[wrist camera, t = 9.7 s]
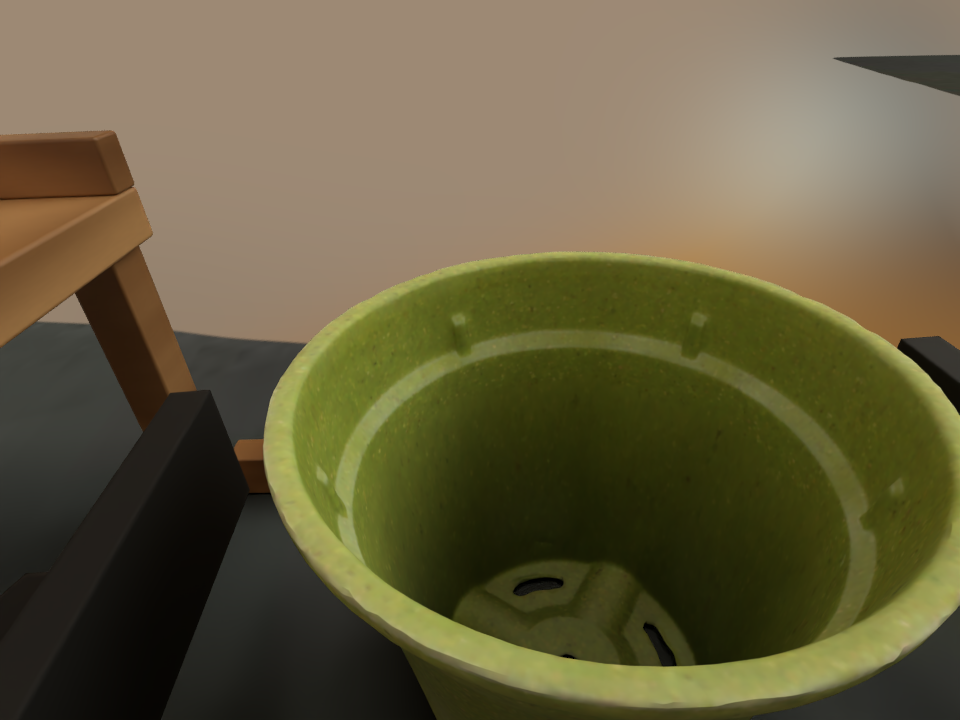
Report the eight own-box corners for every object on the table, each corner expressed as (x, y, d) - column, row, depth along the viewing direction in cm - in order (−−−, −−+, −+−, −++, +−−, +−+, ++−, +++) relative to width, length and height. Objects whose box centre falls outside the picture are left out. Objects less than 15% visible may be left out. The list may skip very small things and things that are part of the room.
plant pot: (350, 557, 16) (278, 282, 11) (649, 488, 18) (697, 224, 13) (387, 1066, 8) (210, 886, 4) (905, 856, 10) (1254, 545, 5)
